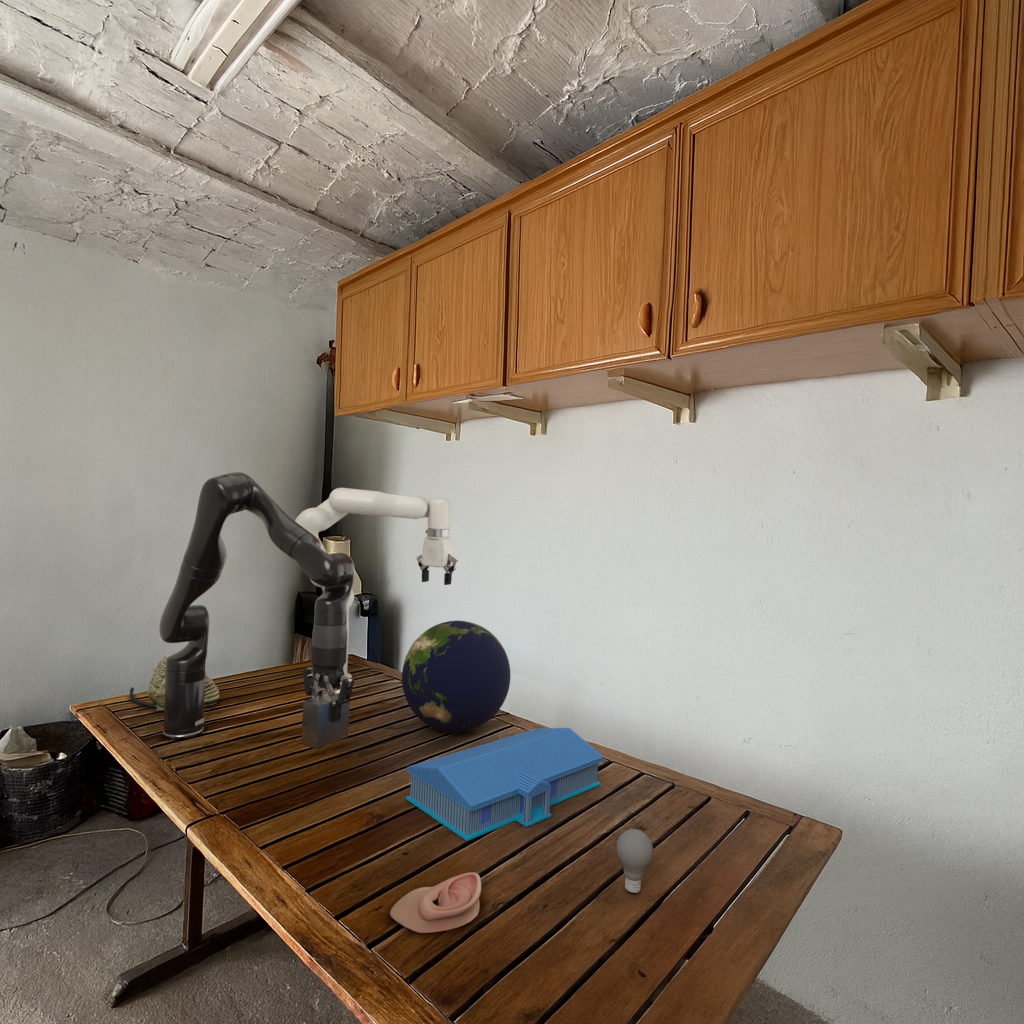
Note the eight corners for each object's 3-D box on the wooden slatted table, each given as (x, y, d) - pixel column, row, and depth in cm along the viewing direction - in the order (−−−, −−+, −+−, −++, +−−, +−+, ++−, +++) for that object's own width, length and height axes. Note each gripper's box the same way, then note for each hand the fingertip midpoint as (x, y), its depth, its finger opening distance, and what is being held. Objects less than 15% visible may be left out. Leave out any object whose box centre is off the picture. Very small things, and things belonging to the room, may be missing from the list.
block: (301, 744, 139) (303, 700, 138) (332, 731, 147) (334, 690, 146) (317, 749, 136) (319, 705, 136) (348, 736, 144) (350, 694, 144)
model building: (477, 848, 116) (480, 794, 116) (404, 798, 134) (406, 751, 134) (612, 789, 143) (614, 745, 142) (536, 754, 161) (537, 715, 161)
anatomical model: (382, 899, 94) (410, 857, 105) (381, 926, 94) (409, 881, 105) (468, 915, 91) (487, 870, 103) (467, 942, 92) (486, 894, 103)
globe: (377, 737, 168) (382, 624, 167) (433, 705, 195) (437, 608, 195) (480, 759, 156) (485, 638, 156) (523, 721, 184) (528, 619, 183)
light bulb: (610, 879, 108) (613, 822, 108) (644, 879, 109) (647, 822, 109) (619, 902, 102) (622, 840, 102) (655, 901, 103) (658, 840, 103)
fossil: (144, 707, 182) (145, 655, 182) (212, 696, 194) (213, 647, 194) (151, 716, 175) (153, 662, 175) (221, 703, 188) (223, 653, 188)
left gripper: (294, 640, 141) (290, 716, 142) (340, 651, 134) (336, 731, 134) (319, 635, 148) (316, 707, 148) (365, 645, 140) (361, 721, 141)
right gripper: (411, 532, 220) (409, 581, 221) (452, 535, 212) (450, 586, 212) (425, 532, 227) (423, 579, 227) (465, 535, 218) (462, 584, 219)
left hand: (326, 718), depth 141 cm, fingers closed on block, 5 cm apart
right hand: (436, 583), depth 220 cm, fingers open, 9 cm apart
